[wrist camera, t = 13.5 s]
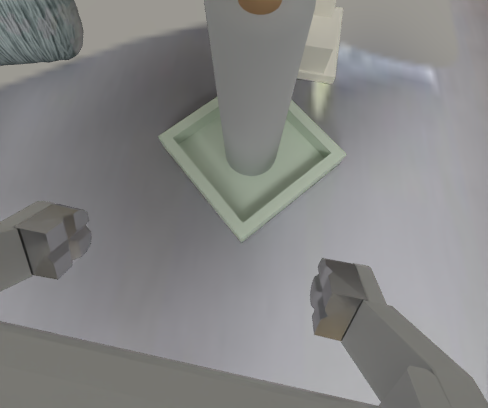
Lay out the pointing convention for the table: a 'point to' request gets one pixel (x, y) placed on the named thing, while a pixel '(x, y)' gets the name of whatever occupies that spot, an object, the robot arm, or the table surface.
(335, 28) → the white toy chair
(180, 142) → the tray
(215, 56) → the gray bottle
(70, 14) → the grey furry rounded block
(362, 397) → the table surface
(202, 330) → the table surface
